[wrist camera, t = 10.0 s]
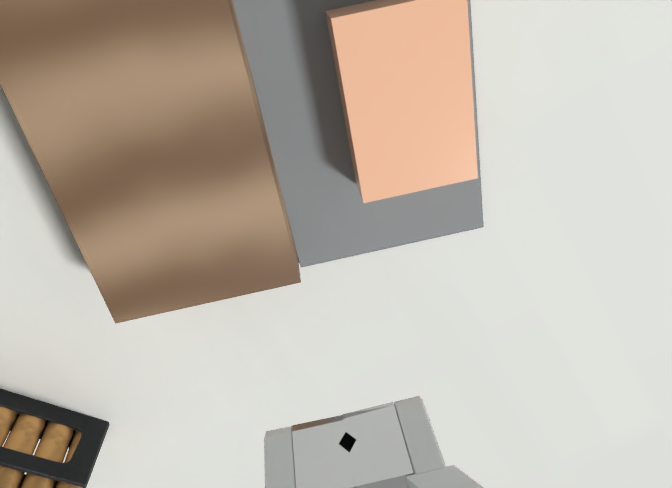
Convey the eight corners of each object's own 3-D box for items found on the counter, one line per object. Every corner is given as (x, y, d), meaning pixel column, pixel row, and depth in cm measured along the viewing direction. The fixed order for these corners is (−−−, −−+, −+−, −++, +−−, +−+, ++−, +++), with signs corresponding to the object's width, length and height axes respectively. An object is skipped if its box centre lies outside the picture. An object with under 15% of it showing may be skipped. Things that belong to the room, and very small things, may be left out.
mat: (212, -81, 25) (212, -81, 24) (459, -133, 25) (462, -134, 24) (300, 263, 34) (300, 267, 33) (481, 224, 34) (483, 227, 33)
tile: (466, -11, 24) (449, -16, 27) (331, 18, 24) (325, 10, 27) (478, 178, 29) (462, 161, 31) (363, 203, 29) (356, 184, 31)
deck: (-4, -8, 25) (-40, 1, 22) (219, -55, 25) (213, -53, 22) (128, 286, 33) (115, 323, 30) (296, 249, 33) (300, 282, 30)
